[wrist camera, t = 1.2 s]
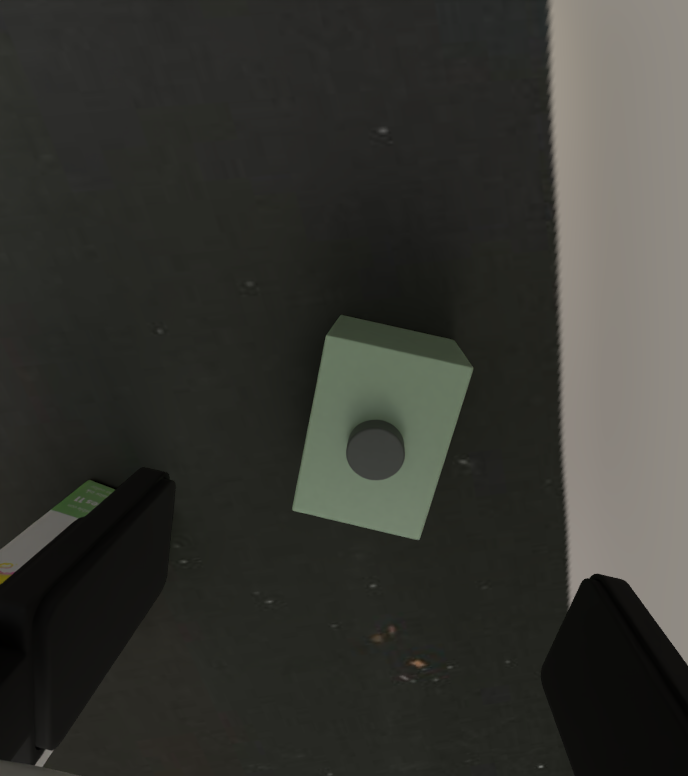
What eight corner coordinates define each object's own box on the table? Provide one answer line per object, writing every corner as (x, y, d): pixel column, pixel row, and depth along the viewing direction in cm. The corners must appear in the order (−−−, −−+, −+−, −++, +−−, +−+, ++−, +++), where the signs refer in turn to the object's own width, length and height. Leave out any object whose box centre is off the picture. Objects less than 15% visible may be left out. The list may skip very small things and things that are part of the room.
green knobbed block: (340, 314, 19) (322, 339, 14) (454, 339, 19) (478, 374, 14) (311, 457, 21) (286, 523, 16) (413, 480, 21) (421, 555, 16)
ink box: (86, 472, 22) (-412, 846, 8) (177, 508, 23) (-167, 934, 9) (60, 593, 25) (-347, 1024, 11) (140, 625, 25) (-164, 1089, 11)
